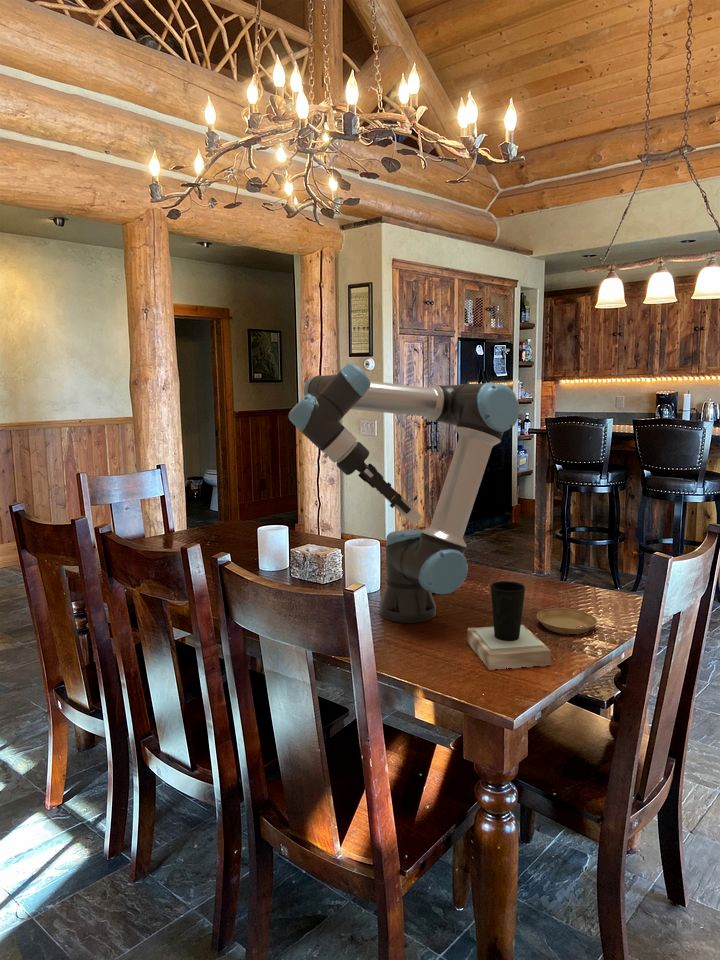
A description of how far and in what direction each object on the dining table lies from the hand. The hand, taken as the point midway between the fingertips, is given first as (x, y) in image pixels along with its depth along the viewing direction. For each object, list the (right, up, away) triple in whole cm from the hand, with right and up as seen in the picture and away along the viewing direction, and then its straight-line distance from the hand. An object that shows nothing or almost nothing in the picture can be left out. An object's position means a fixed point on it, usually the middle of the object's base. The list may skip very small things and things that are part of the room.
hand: (411, 515), depth 151 cm
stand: (+22, -32, -1) cm, 39 cm away
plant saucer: (+41, -30, +16) cm, 53 cm away
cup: (+22, -28, -1) cm, 36 cm away
